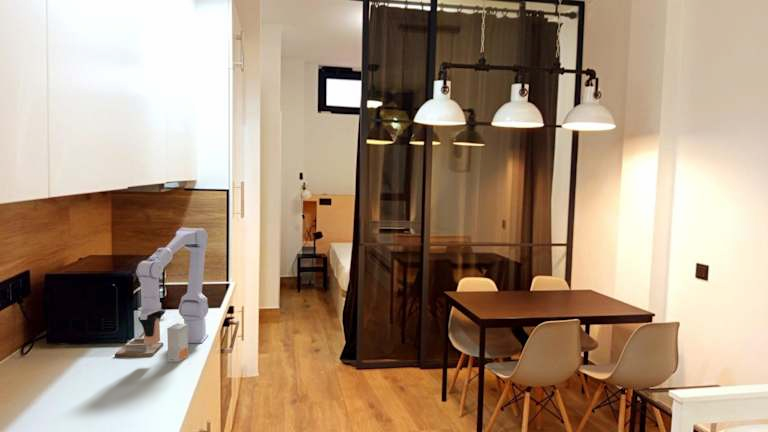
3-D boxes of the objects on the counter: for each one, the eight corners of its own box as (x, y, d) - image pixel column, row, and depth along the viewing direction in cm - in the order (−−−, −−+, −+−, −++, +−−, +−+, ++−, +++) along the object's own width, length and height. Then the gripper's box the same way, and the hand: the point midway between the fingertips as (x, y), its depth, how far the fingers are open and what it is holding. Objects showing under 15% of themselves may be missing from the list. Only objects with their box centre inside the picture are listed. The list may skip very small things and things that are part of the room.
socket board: (127, 346, 193) (127, 336, 193) (163, 345, 194) (162, 336, 194) (114, 357, 182) (114, 347, 182) (152, 356, 183) (152, 346, 183)
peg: (148, 340, 179) (147, 318, 178) (160, 340, 180) (159, 318, 179) (143, 344, 175) (143, 321, 175) (156, 344, 176) (155, 321, 175)
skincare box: (178, 362, 177) (177, 329, 176) (167, 361, 178) (166, 328, 177) (188, 356, 183) (187, 323, 182) (178, 355, 184) (177, 323, 183)
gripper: (146, 290, 183) (147, 327, 184) (129, 301, 168) (131, 341, 170) (166, 290, 183) (168, 327, 185) (151, 300, 169) (153, 340, 170)
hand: (151, 334), depth 177 cm, fingers closed on peg, 4 cm apart
